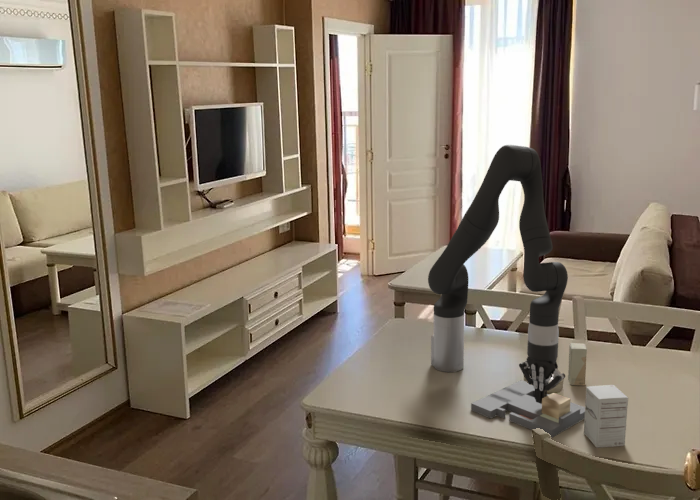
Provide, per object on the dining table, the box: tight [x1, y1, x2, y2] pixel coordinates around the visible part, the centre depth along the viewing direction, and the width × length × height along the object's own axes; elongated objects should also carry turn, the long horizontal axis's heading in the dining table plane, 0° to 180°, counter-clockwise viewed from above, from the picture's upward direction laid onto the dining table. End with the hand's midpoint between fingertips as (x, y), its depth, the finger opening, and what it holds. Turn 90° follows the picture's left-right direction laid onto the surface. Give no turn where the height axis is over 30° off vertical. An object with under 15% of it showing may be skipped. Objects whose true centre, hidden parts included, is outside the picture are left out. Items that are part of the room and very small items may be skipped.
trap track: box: [470, 379, 585, 438], centre depth 182 cm, size 23×22×4 cm
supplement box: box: [583, 384, 629, 448], centre depth 166 cm, size 7×7×13 cm
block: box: [542, 392, 571, 419], centre depth 176 cm, size 5×5×4 cm
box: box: [567, 342, 588, 386], centre depth 199 cm, size 5×4×11 cm
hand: (540, 401), depth 180 cm, fingers closed
